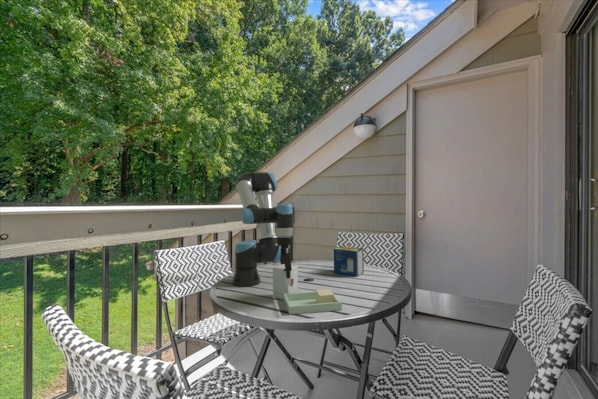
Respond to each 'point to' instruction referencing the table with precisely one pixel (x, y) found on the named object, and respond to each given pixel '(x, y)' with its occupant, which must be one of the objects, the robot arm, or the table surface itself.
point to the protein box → (348, 261)
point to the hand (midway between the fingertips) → (285, 281)
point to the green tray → (308, 303)
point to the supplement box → (279, 281)
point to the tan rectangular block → (324, 296)
